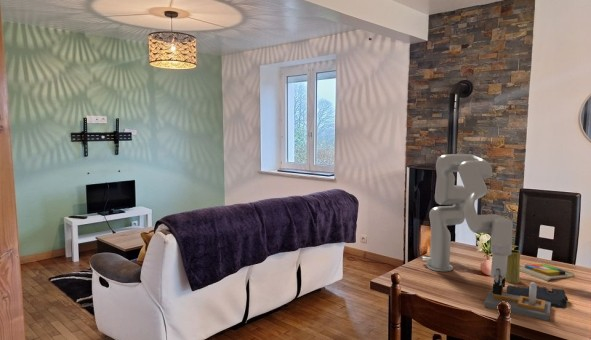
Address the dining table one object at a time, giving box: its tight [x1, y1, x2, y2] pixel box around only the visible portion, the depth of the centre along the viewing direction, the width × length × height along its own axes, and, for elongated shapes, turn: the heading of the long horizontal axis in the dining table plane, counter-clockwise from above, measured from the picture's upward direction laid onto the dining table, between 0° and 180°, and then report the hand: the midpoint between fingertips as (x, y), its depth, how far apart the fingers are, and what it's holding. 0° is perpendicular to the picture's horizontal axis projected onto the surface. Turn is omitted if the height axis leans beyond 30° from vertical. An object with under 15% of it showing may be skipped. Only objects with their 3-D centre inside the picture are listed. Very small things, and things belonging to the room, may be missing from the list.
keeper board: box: [483, 281, 551, 322], centre depth 162 cm, size 22×14×11 cm, turn 56°
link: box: [493, 283, 545, 312], centre depth 162 cm, size 18×9×6 cm, turn 56°
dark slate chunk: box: [505, 284, 569, 309], centre depth 172 cm, size 15×22×5 cm
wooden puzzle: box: [520, 262, 575, 282], centre depth 201 cm, size 18×19×4 cm
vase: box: [505, 249, 521, 284], centre depth 190 cm, size 6×6×14 cm
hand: (498, 290), depth 166 cm, fingers open, 9 cm apart
